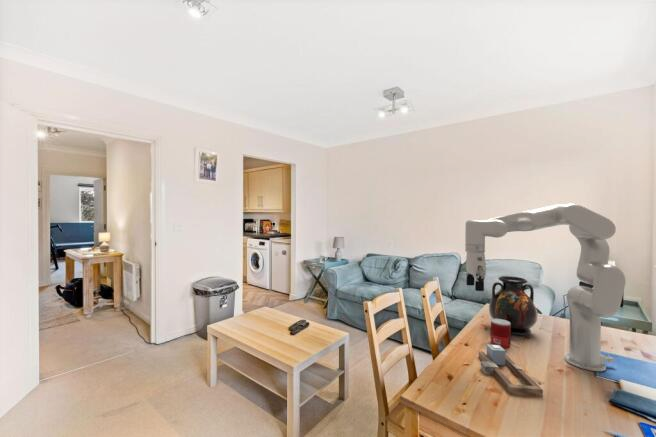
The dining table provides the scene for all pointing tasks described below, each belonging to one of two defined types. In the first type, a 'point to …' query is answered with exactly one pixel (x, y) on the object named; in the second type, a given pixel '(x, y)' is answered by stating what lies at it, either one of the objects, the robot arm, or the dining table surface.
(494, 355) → the block
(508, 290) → the amphora vase
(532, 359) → the dining table surface
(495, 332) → the canned food
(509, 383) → the beam slot
